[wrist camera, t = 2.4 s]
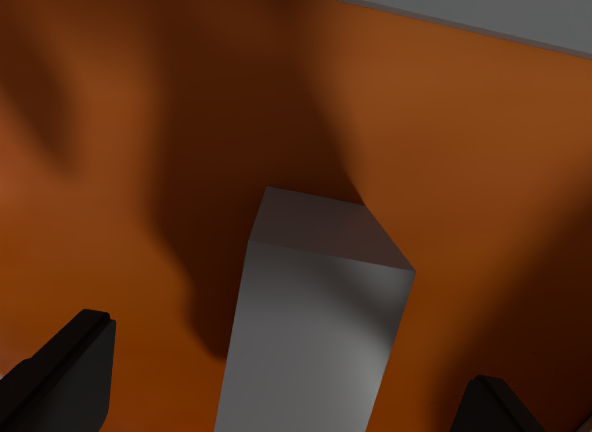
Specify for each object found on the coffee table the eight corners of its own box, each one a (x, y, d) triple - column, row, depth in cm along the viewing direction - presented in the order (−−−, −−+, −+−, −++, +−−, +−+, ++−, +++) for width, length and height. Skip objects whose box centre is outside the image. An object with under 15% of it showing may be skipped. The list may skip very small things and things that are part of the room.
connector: (266, 185, 14) (248, 240, 8) (365, 205, 14) (416, 271, 8) (228, 390, 16) (194, 543, 11) (312, 403, 17) (323, 560, 11)
